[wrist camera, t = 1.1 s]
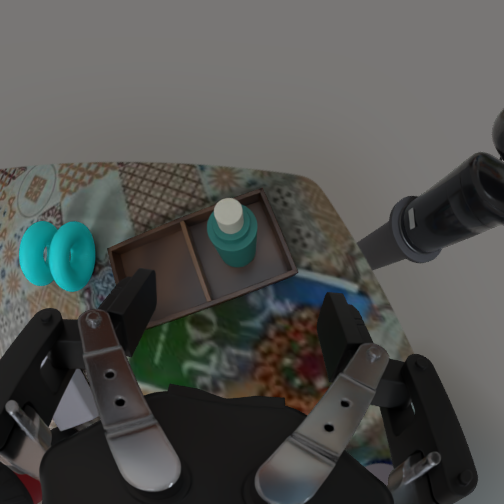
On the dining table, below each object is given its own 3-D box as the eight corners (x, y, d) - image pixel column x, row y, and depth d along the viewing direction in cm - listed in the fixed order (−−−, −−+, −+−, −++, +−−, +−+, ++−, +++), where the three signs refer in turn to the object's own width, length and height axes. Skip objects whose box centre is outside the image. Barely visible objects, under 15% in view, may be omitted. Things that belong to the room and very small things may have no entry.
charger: (64, 328, 36) (106, 411, 34) (35, 348, 35) (72, 424, 33) (46, 328, 32) (92, 420, 29) (18, 349, 31) (58, 432, 28)
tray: (261, 197, 40) (262, 187, 37) (294, 275, 38) (298, 272, 35) (117, 253, 39) (106, 248, 35) (140, 331, 36) (130, 333, 33)
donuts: (94, 295, 37) (56, 289, 28) (50, 287, 38) (11, 280, 28) (103, 231, 39) (68, 212, 30) (59, 230, 40) (23, 213, 30)
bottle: (248, 226, 39) (245, 176, 24) (261, 259, 38) (267, 227, 23) (214, 239, 38) (191, 195, 23) (226, 272, 38) (209, 249, 22)
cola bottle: (51, 425, 32) (-62, 473, 3) (78, 419, 33) (-48, 480, 4) (74, 463, 31) (-23, 530, 2) (103, 460, 32) (1, 545, 2)
